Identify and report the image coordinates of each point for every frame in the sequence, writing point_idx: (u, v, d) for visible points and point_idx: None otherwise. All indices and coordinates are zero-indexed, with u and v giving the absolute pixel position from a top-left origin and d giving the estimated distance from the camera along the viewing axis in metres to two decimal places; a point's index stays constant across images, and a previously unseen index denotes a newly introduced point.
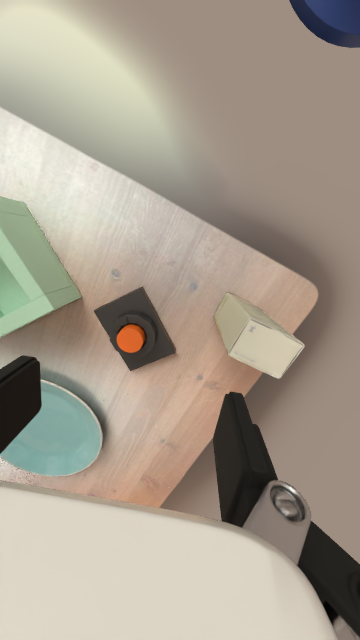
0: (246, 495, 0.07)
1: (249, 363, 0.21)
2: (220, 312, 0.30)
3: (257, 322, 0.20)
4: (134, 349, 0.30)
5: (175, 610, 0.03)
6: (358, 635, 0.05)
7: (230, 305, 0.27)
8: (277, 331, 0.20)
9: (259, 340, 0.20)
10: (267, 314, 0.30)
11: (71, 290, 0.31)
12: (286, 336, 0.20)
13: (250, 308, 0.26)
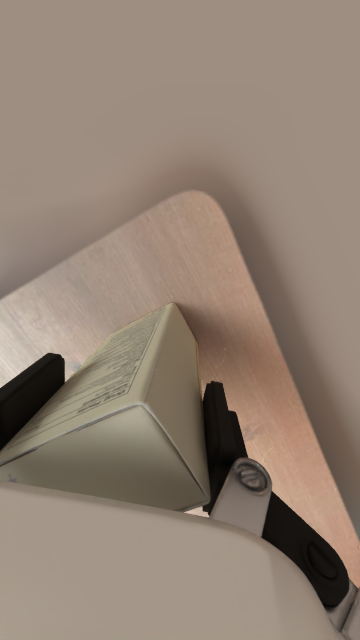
0: (217, 471, 0.07)
1: None
2: None
3: (3, 464, 0.07)
4: None
5: (175, 610, 0.03)
6: None
7: None
8: (53, 439, 0.06)
9: (57, 485, 0.07)
10: (168, 310, 0.15)
11: None
12: (82, 427, 0.06)
13: (103, 355, 0.12)
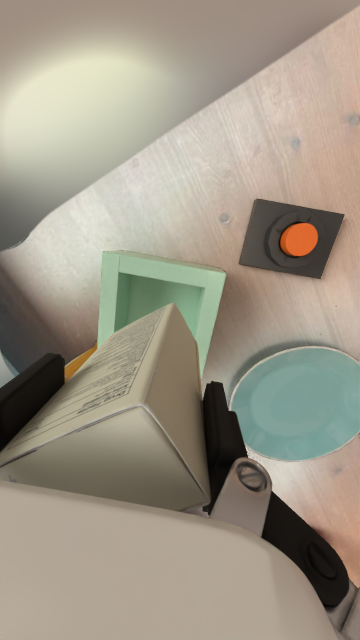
0: (216, 471, 0.07)
1: None
2: None
3: (3, 465, 0.07)
4: (313, 242, 0.25)
5: (175, 610, 0.03)
6: None
7: None
8: (53, 440, 0.06)
9: (57, 487, 0.07)
10: (168, 310, 0.15)
11: (210, 267, 0.29)
12: (82, 428, 0.06)
13: (103, 355, 0.12)
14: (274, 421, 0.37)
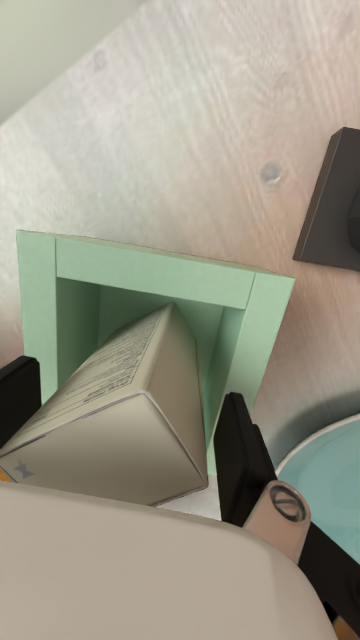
0: (246, 495, 0.07)
1: None
2: None
3: (13, 450, 0.07)
4: None
5: (175, 610, 0.03)
6: (358, 635, 0.05)
7: None
8: (61, 426, 0.07)
9: (64, 471, 0.07)
10: (169, 308, 0.15)
11: (244, 265, 0.16)
12: (88, 414, 0.07)
13: (106, 351, 0.13)
14: (334, 508, 0.24)
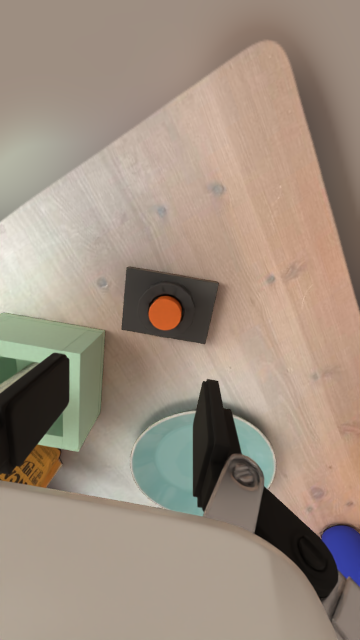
0: (210, 467, 0.07)
1: None
2: None
3: None
4: (177, 317, 0.24)
5: (175, 610, 0.03)
6: None
7: None
8: None
9: None
10: None
11: (90, 332, 0.28)
12: None
13: (1, 385, 0.25)
14: (183, 477, 0.36)
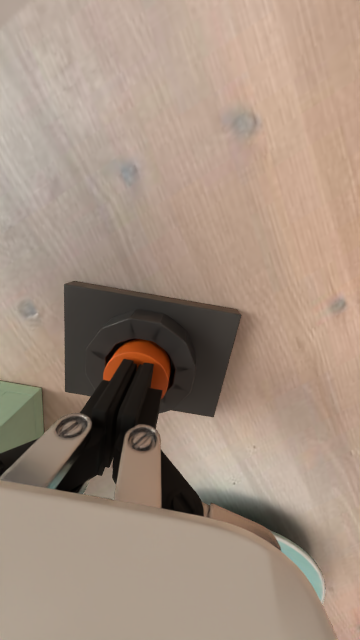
0: (118, 437, 0.08)
1: None
2: None
3: None
4: (160, 386, 0.12)
5: (175, 610, 0.03)
6: None
7: None
8: None
9: None
10: None
11: (8, 397, 0.16)
12: None
13: None
14: None
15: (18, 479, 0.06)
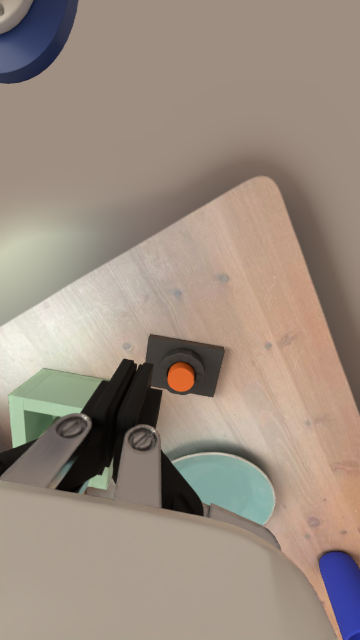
0: (118, 437, 0.08)
1: None
2: None
3: None
4: (190, 382, 0.29)
5: (175, 610, 0.03)
6: None
7: None
8: None
9: None
10: None
11: None
12: None
13: None
14: None
15: (18, 479, 0.06)
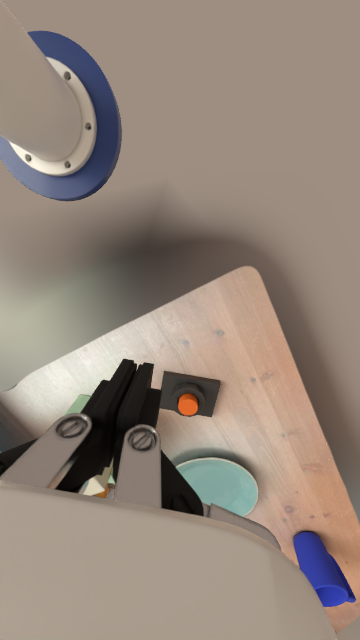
0: (118, 437, 0.08)
1: None
2: None
3: None
4: (195, 409, 0.40)
5: (175, 610, 0.03)
6: None
7: None
8: None
9: None
10: None
11: None
12: None
13: None
14: None
15: (18, 479, 0.06)
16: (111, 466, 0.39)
